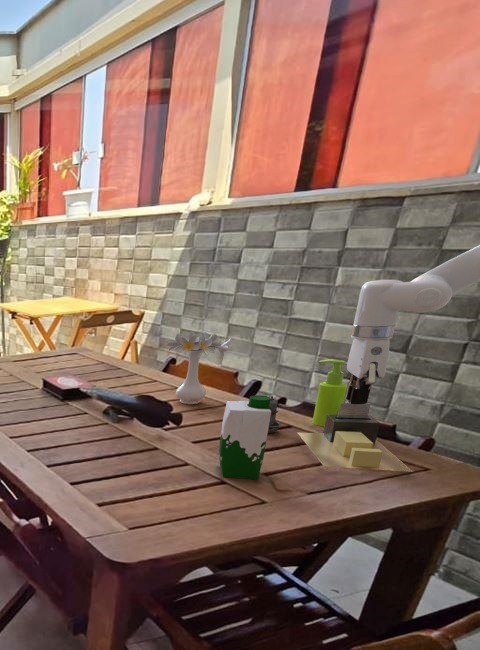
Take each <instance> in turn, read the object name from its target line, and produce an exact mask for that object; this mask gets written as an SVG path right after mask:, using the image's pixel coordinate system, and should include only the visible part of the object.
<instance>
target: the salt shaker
mask: <svg viewBox="0 0 480 650" xmlns="http://www.w3.org/2000/svg"><path fill="white" fill-rule="evenodd" d="M278 402H279V401H278V400H277V399H275V397H274V396H273V395H271V396H270V409H271V416H270V421H269V428H268V434H272V433H275V432H277V431H278V430H279V428H280V427H281V423H280V422H278V421H277V420H276V417H277V413H278V412H279V411H278Z"/></svg>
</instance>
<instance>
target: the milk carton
mask: <svg viewBox="0 0 480 650" xmlns="http://www.w3.org/2000/svg"><path fill="white" fill-rule="evenodd" d="M270 398H271V396H267V395H261V394H257V395H256V394H255V395H251V396H249V399H248V400H226V404H225V409H224V413H223V417H222V424H221V431H220V438H219V447H218V458H219V467H220V471H221V475H222V477H223V478H232V479H233V478H234V479H245V480H255V481H257V480H259V476H260V473H261V468H262V465H263V461H264V458H265V451H266V446H267V439H268V434H269V433H268V428H269V421H270V416H271V409H270Z"/></svg>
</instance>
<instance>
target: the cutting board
mask: <svg viewBox="0 0 480 650" xmlns="http://www.w3.org/2000/svg"><path fill="white" fill-rule="evenodd" d="M297 435H298V436H299V437H300V438H301V440H302V441H303V442H304V443H305V444H306V446H307V447H308V448H309V450H310V451H311V452H312V454H314V456H315V457H316V458H317V460H318V461H319V462H320V463H321V465H322V466H323V467H328V468H342V469H344V468H345V469H359V470H360V469H361V470H374V471H375V470H377V471H393V472H404V473H405V472H406V473H407V472H408V473H414V471H413V470H412V469H411V468H409V466H407V465H406V464H405V463H404V462H403V461H402V460H400V459H399V458H398V457H397V456H396V455H395V454H393V452H391V450H389V449H388V448H387V447H385V445H383V444H382V443H381V442H380V441H379V440H378V439H376V442H375V444H373V447H372V449H380V450H381V451H382V452H383V454H382V458H381V462H380V466H379V467H363V466H351V465H350V464H349V459H350V457H343V456H342V455H341V454H340V452H339V451H338V450H337V449H336V448H335V447H334V446H333V442H330V441H329V440H328V439H327V438H326V437H325V436H324V435H323V433H319V432H297Z"/></svg>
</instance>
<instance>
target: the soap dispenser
mask: <svg viewBox="0 0 480 650" xmlns="http://www.w3.org/2000/svg"><path fill="white" fill-rule="evenodd" d="M318 362H319V364H333V366H332V370H330V371H328V372H327V376H326V379H325V380H326V381H322V382H320V383H319V387H318V392H317V397H316V402H315V405H314V406H315V407H314V411H313V417H312V422H311V423H312V424H313V425H315V426H318V427H324V428H325V423H326V418H327V414H329V415H338V412H339V407H340V403H345V399H346V396H347V392H348V387H349V385H348V383H344V382H343V381H344V376H345V372H344V371H342V366H343V365H345V364H346V363H347V362H346V360H342V359H332V358H331V359H321V360H319V361H318Z"/></svg>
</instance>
